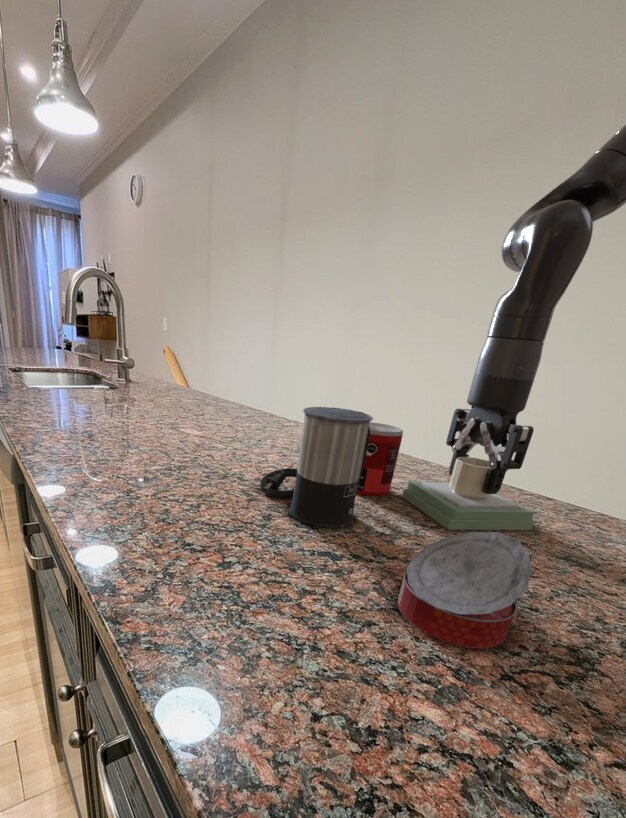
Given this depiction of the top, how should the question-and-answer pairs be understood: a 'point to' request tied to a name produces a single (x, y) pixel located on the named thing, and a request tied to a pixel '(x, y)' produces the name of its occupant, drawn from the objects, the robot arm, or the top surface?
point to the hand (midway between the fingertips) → (471, 484)
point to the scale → (466, 512)
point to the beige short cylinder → (469, 477)
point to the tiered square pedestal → (465, 502)
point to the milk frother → (325, 467)
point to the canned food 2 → (466, 588)
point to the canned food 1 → (380, 460)
